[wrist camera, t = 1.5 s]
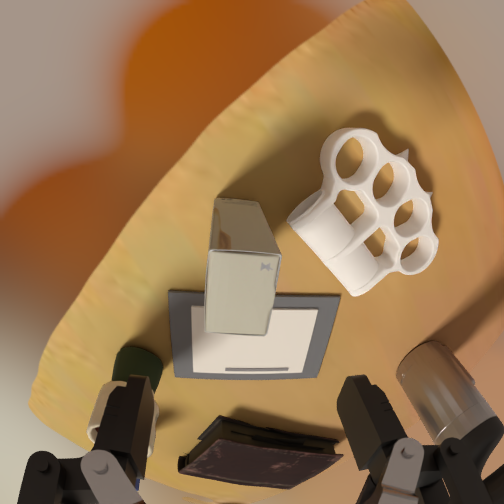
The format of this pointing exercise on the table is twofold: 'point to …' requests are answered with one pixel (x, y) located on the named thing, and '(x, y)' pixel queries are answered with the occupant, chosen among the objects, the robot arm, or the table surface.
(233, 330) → the skincare box
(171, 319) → the notepad
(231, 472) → the diary
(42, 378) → the table surface
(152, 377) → the character mug
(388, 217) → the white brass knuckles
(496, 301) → the table surface
